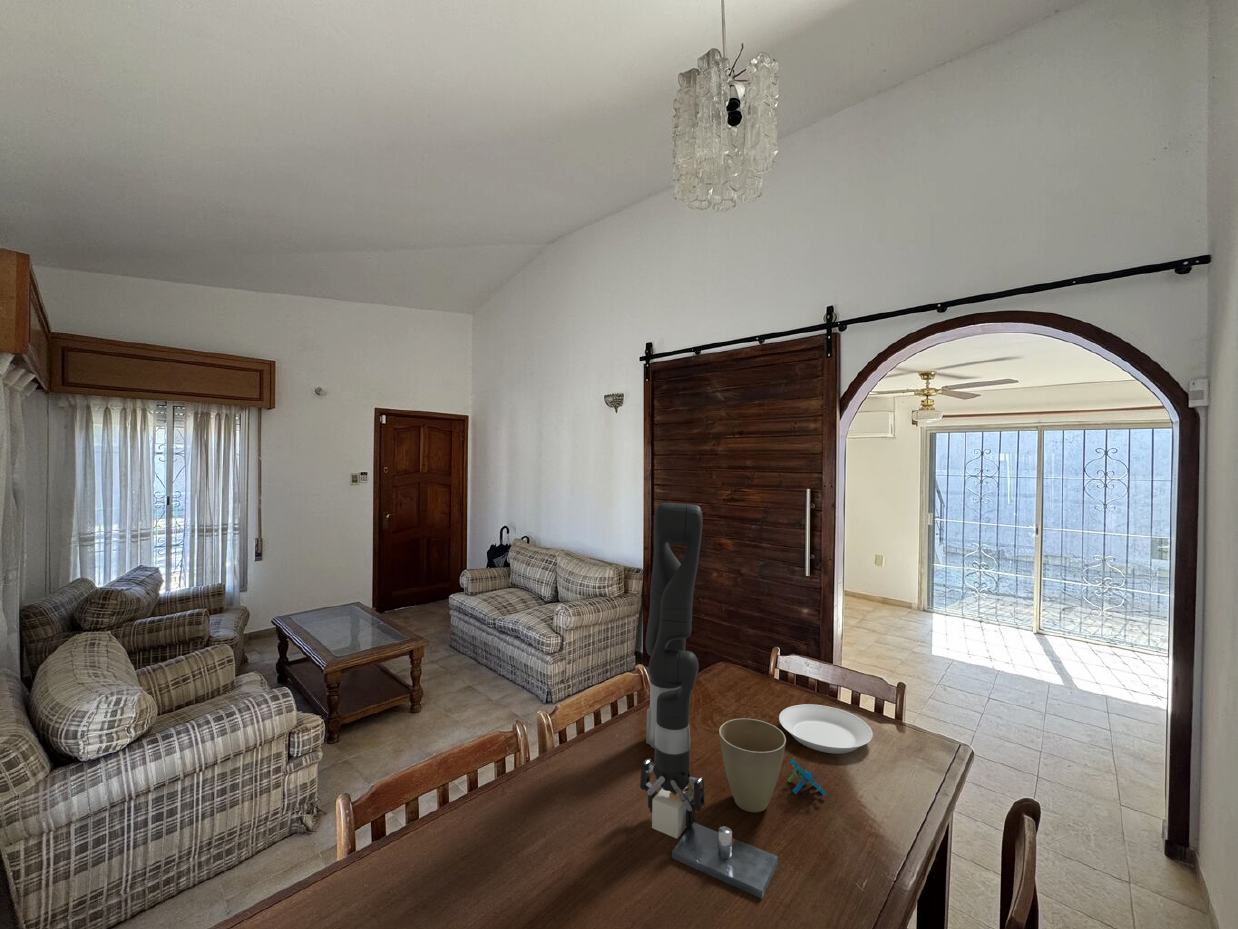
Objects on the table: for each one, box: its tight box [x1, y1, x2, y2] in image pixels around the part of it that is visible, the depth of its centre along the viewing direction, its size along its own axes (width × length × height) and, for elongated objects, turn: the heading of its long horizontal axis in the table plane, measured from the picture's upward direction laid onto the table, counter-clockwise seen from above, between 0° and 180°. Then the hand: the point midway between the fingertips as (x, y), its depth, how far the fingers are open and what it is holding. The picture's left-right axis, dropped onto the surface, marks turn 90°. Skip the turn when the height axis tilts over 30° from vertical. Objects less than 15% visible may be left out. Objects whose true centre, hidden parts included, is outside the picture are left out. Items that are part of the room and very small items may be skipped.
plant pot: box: [718, 717, 787, 813], centre depth 124 cm, size 15×15×16 cm
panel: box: [671, 822, 779, 900], centre depth 106 cm, size 18×10×6 cm, turn 58°
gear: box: [787, 757, 827, 796], centre depth 129 cm, size 11×6×10 cm
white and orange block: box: [651, 787, 687, 840], centre depth 116 cm, size 6×6×7 cm
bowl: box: [778, 703, 874, 754], centre depth 155 cm, size 25×25×4 cm
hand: (671, 817), depth 116 cm, fingers open, 8 cm apart
